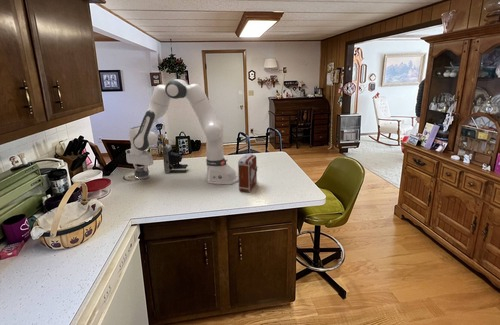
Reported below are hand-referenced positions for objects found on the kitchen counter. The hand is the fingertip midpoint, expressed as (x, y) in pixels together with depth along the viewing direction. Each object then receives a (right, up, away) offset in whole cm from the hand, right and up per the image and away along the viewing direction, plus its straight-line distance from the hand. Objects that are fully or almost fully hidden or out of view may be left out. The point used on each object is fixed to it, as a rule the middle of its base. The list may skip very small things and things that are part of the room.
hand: (141, 170), depth 195 cm
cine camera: (+74, -10, -18) cm, 77 cm away
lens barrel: (0, -5, +2) cm, 5 cm away
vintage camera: (+21, -1, +13) cm, 25 cm away
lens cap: (0, -3, +1) cm, 3 cm away
